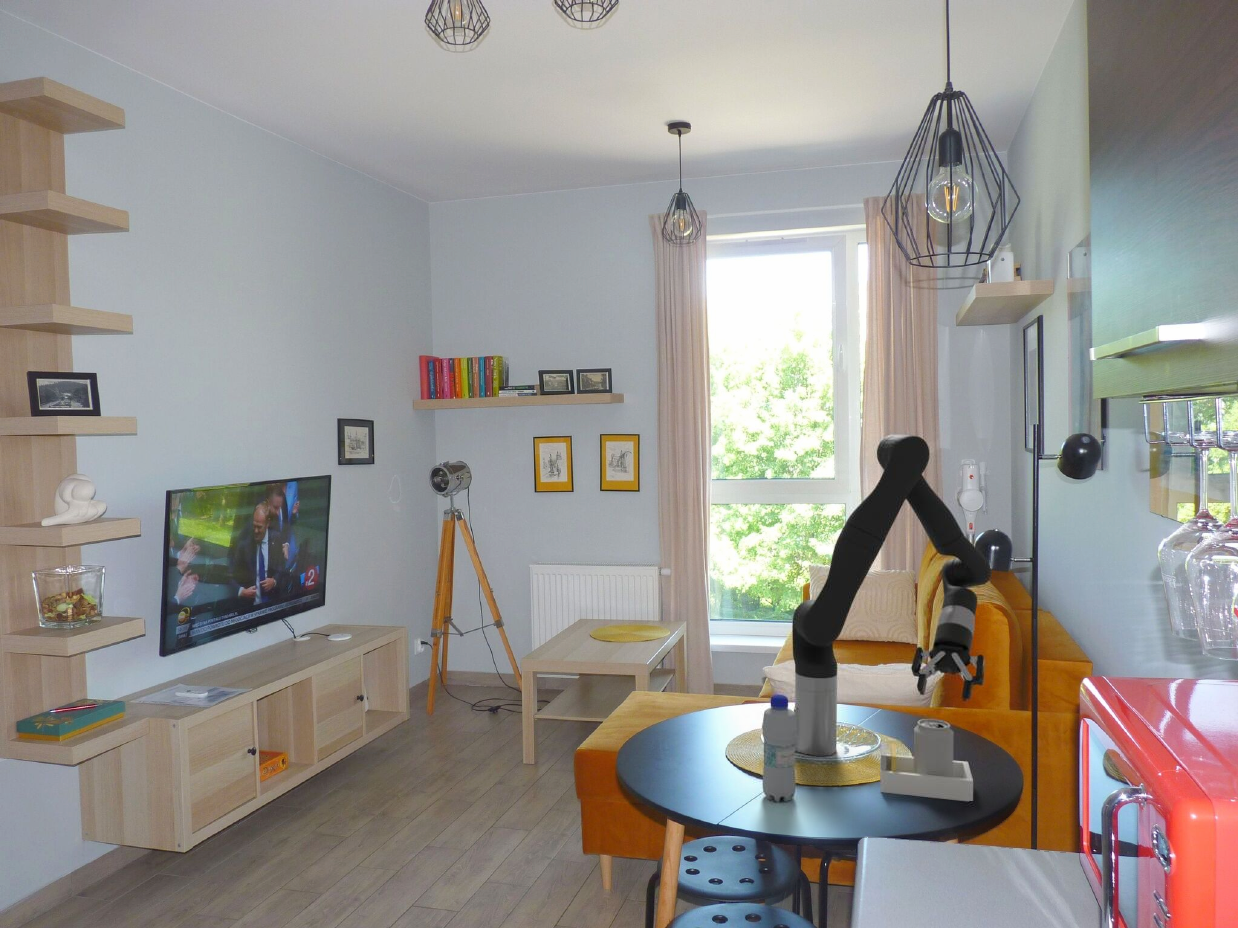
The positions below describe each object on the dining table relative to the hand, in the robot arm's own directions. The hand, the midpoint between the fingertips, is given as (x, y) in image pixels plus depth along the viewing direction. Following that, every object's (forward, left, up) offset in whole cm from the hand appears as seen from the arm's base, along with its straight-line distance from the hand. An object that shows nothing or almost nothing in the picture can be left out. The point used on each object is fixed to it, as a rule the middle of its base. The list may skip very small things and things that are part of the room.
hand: (942, 695), depth 187 cm
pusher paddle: (-10, -8, -15) cm, 20 cm away
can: (-2, -8, -16) cm, 18 cm away
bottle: (-31, -22, -17) cm, 42 cm away
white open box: (-4, -8, -16) cm, 19 cm away
